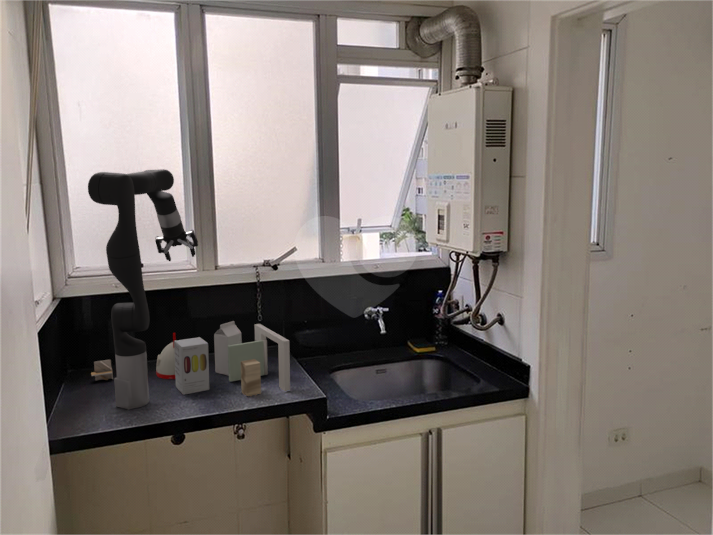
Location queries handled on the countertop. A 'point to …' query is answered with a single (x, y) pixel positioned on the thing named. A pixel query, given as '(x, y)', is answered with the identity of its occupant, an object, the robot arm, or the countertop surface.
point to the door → (246, 357)
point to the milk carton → (225, 345)
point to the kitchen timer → (167, 362)
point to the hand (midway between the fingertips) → (181, 257)
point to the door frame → (283, 353)
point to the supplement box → (191, 365)
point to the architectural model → (102, 370)
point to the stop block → (250, 377)
